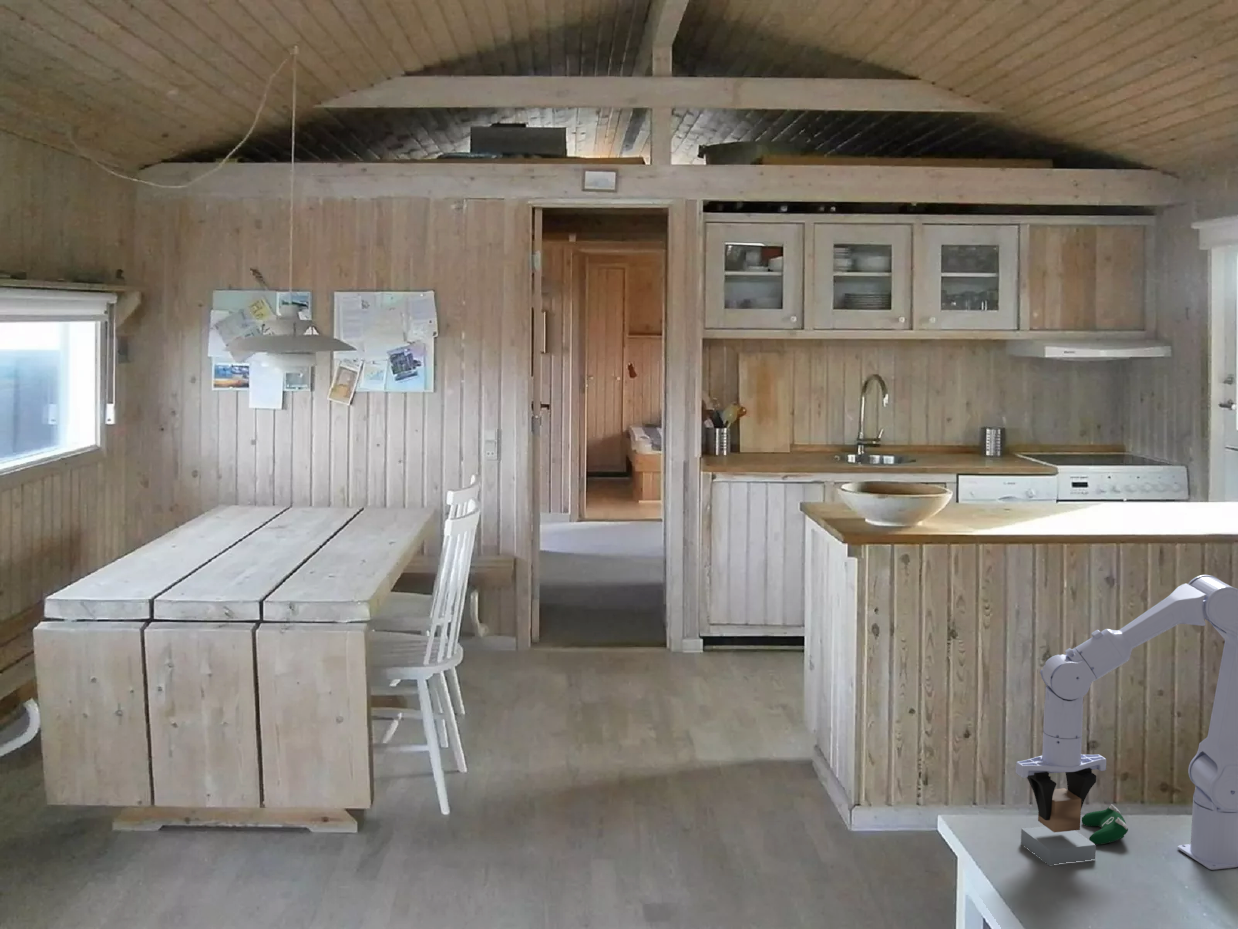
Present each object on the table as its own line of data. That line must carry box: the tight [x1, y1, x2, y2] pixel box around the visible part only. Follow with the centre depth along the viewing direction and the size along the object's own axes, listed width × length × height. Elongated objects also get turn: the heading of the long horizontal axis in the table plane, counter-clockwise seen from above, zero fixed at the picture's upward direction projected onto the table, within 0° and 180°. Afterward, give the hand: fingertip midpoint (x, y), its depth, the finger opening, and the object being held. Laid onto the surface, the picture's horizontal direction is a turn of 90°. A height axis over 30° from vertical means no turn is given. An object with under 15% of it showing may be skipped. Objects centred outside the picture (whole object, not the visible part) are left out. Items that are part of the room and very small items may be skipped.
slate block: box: [1020, 825, 1097, 866], centre depth 190 cm, size 8×8×3 cm
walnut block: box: [1037, 787, 1082, 832], centre depth 189 cm, size 4×4×5 cm
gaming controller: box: [1081, 803, 1129, 845], centre depth 196 cm, size 9×4×6 cm
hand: (1059, 816), depth 189 cm, fingers closed on walnut block, 4 cm apart
